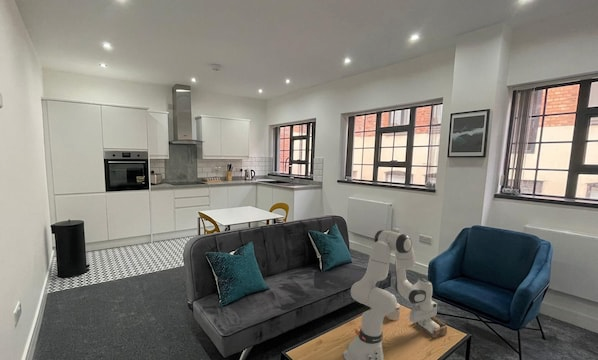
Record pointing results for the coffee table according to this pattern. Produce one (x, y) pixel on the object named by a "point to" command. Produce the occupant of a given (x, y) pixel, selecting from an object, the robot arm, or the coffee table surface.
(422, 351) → the coffee table surface
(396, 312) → the teacup with lid
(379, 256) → the robot arm
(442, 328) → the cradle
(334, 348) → the coffee table surface
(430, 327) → the roll
